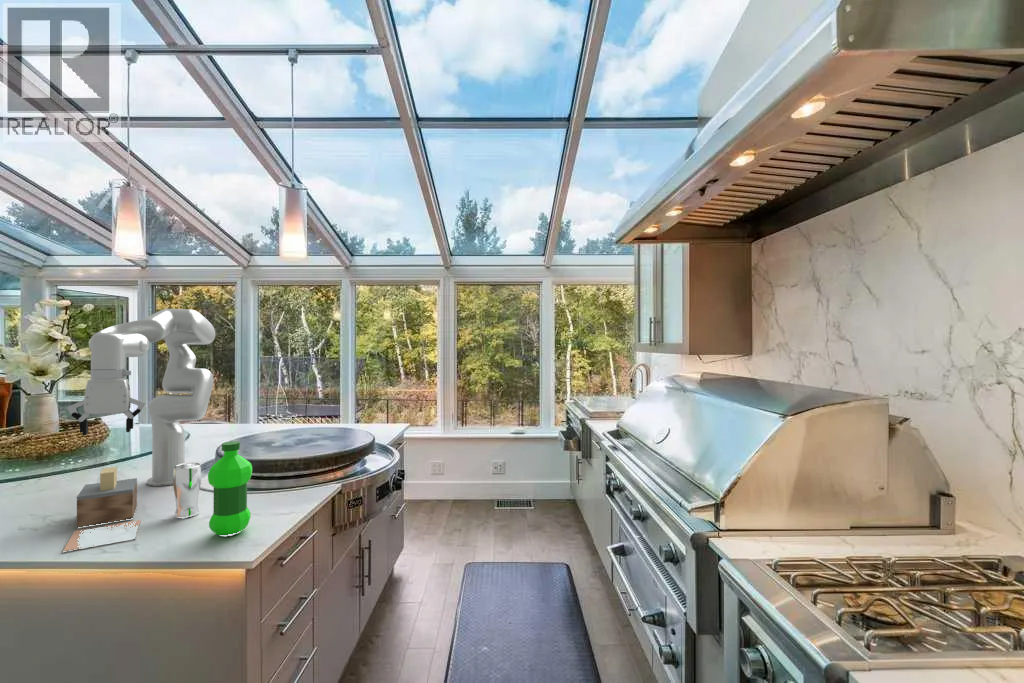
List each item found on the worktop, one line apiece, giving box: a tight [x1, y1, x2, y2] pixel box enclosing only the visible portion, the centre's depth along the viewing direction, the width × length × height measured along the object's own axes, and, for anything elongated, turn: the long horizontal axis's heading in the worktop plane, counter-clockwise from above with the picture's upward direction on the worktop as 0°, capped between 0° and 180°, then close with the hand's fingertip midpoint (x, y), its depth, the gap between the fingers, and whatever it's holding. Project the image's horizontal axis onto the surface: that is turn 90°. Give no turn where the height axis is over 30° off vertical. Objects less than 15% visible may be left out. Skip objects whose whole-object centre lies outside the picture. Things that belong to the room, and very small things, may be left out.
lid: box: [76, 466, 138, 501], centre depth 135 cm, size 12×12×7 cm
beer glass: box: [172, 462, 202, 518], centre depth 138 cm, size 7×7×15 cm
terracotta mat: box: [62, 519, 141, 552], centre depth 123 cm, size 14×14×1 cm
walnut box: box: [76, 482, 138, 529], centre depth 135 cm, size 12×12×8 cm
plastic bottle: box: [207, 440, 253, 536], centre depth 126 cm, size 10×10×25 cm
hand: (107, 433), depth 135 cm, fingers open, 9 cm apart
